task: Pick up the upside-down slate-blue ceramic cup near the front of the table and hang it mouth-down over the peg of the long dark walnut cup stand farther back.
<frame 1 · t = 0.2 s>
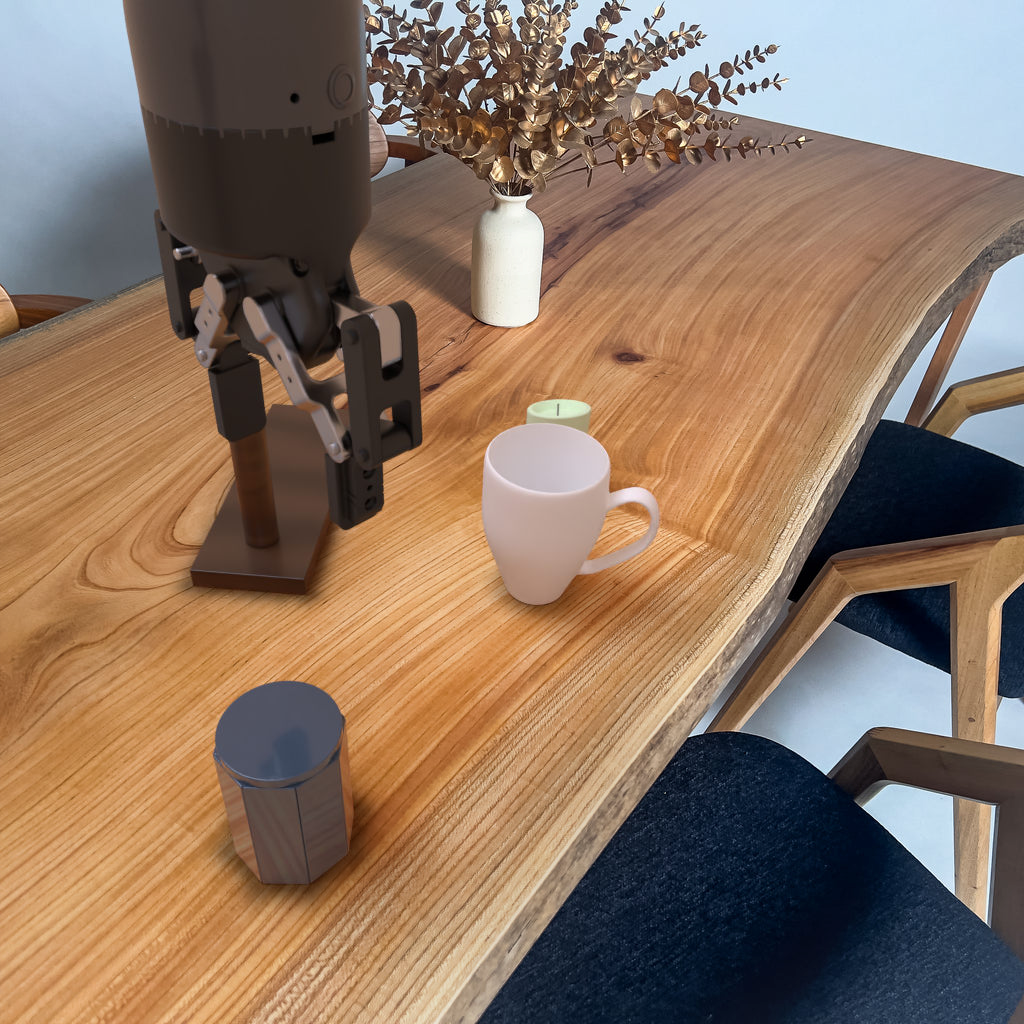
hand: (297, 474, 41), 20 cm above the table, tool pointing down, fingers open, 8 cm apart
candle: (550, 486, 76), on the table
mug: (559, 592, 66), on the table
cup stand: (288, 495, 72), on the table
cup: (296, 832, 49), on the table
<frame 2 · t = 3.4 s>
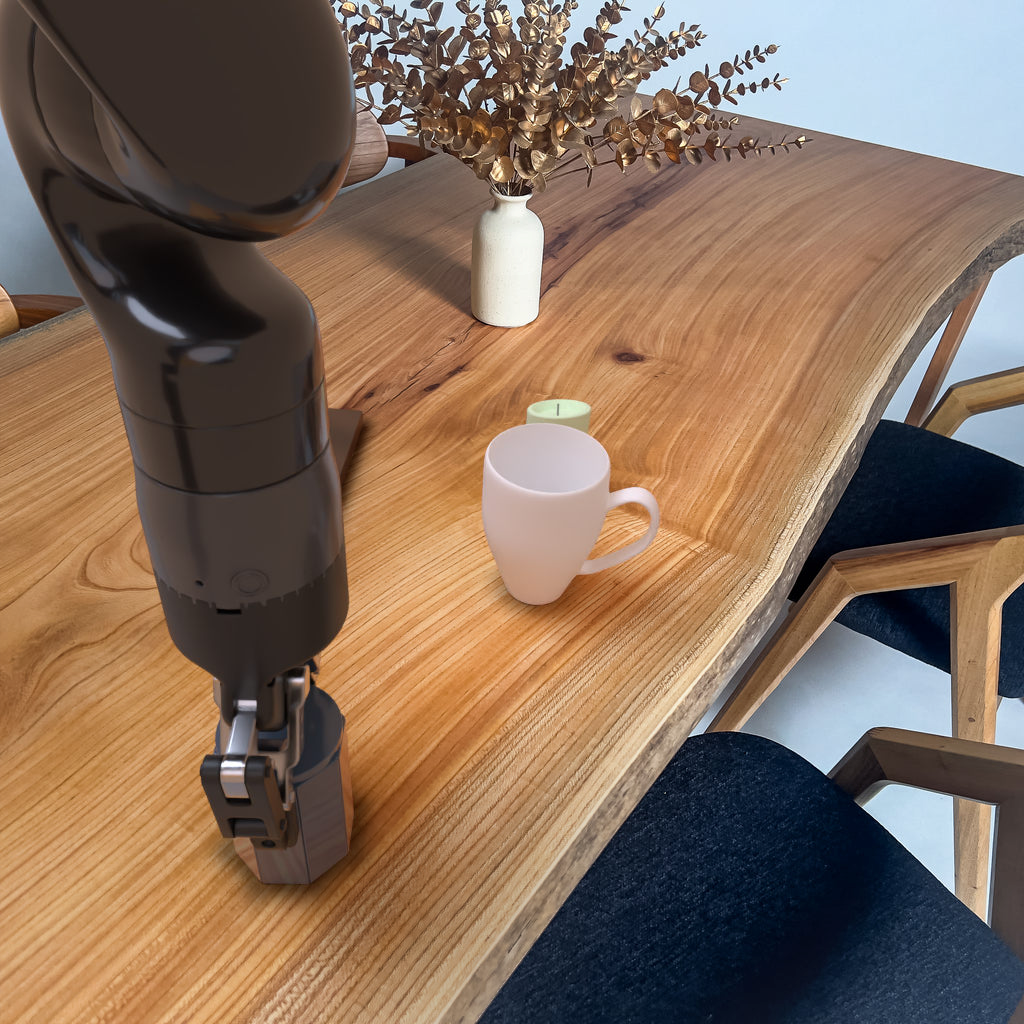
hand: (288, 781, 46), 5 cm above the table, tool pointing down, fingers closed on cup, 6 cm apart
cup: (296, 832, 49), on the table, touching gripper
everything else where it was.
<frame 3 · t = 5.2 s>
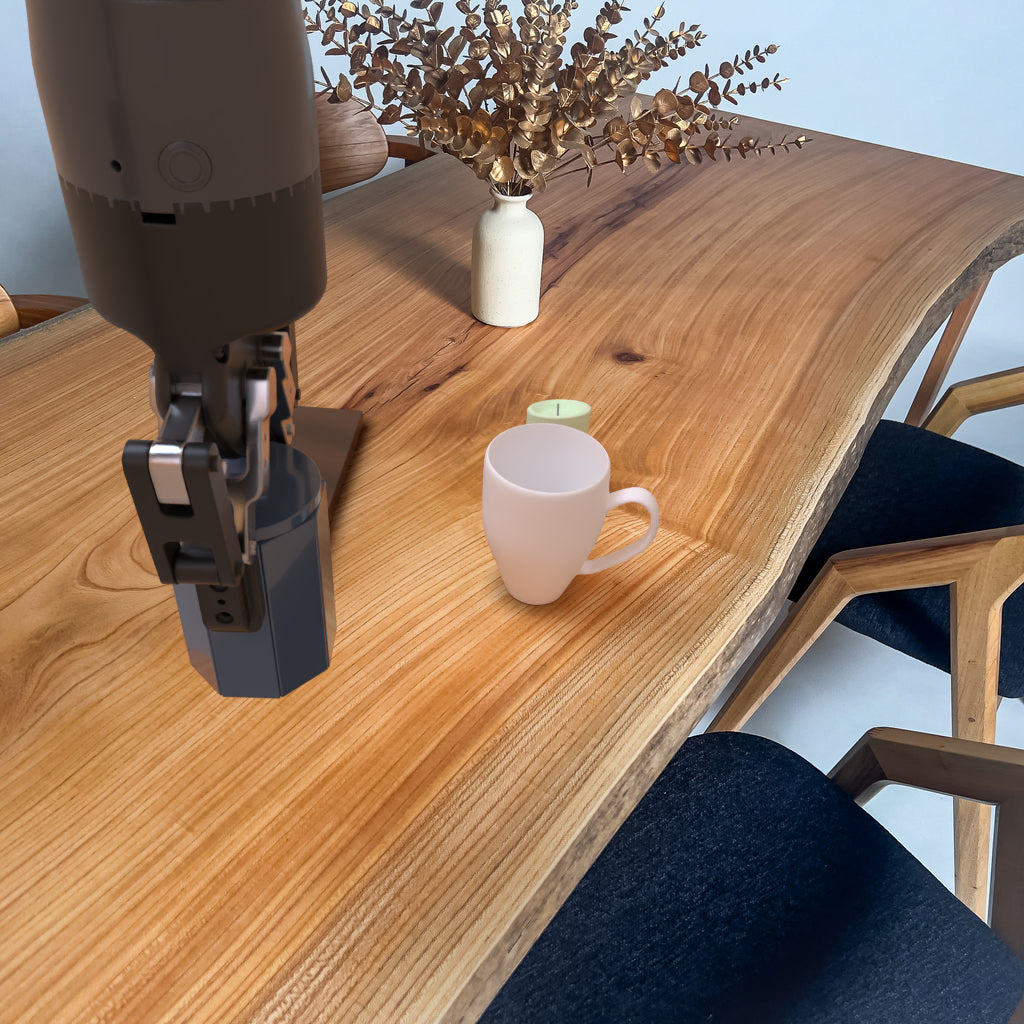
hand: (253, 567, 37), 19 cm above the table, tool pointing down, fingers closed on cup, 6 cm apart
cup: (265, 645, 40), point 15 cm above the table, touching gripper
everything else where it was.
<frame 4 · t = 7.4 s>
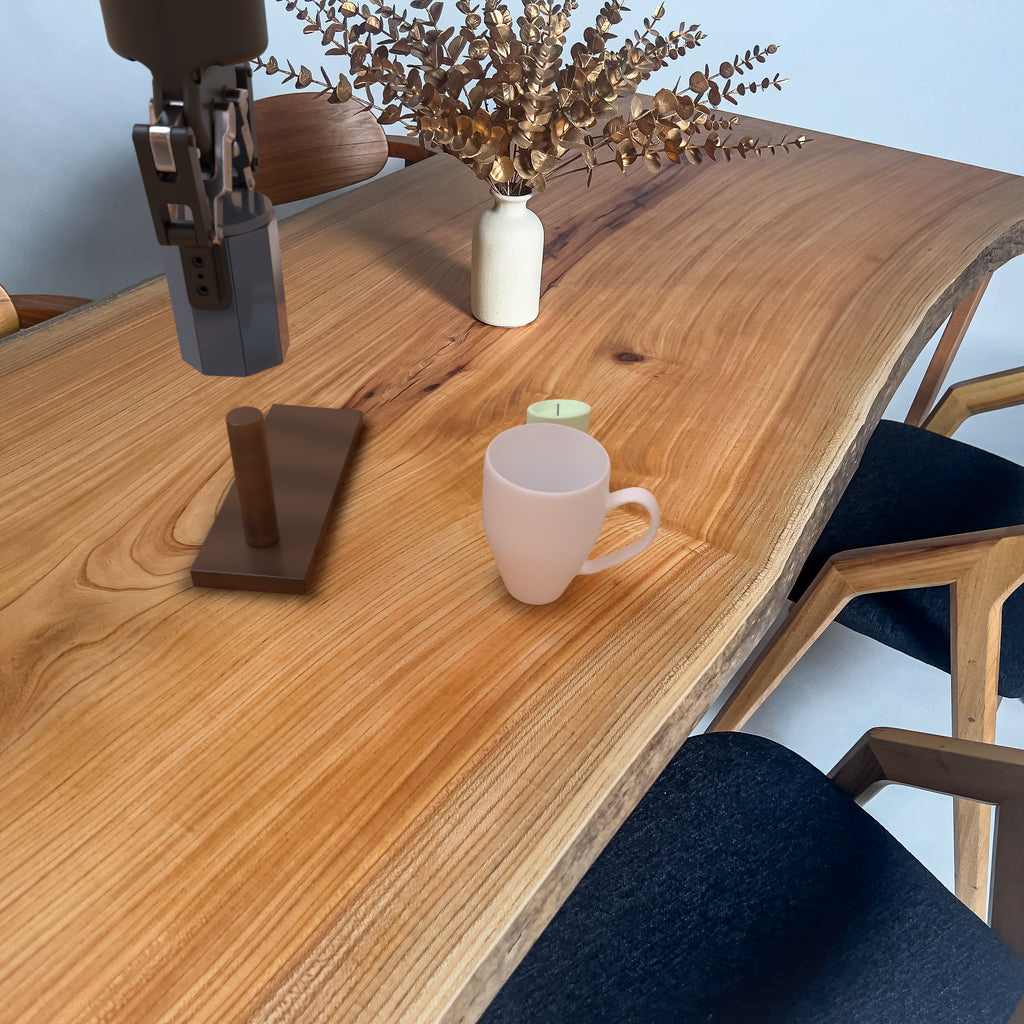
hand: (225, 280, 52), 22 cm above the table, tool pointing down, fingers closed on cup, 6 cm apart
cup: (237, 351, 55), point 17 cm above the table, touching gripper
everything else where it was.
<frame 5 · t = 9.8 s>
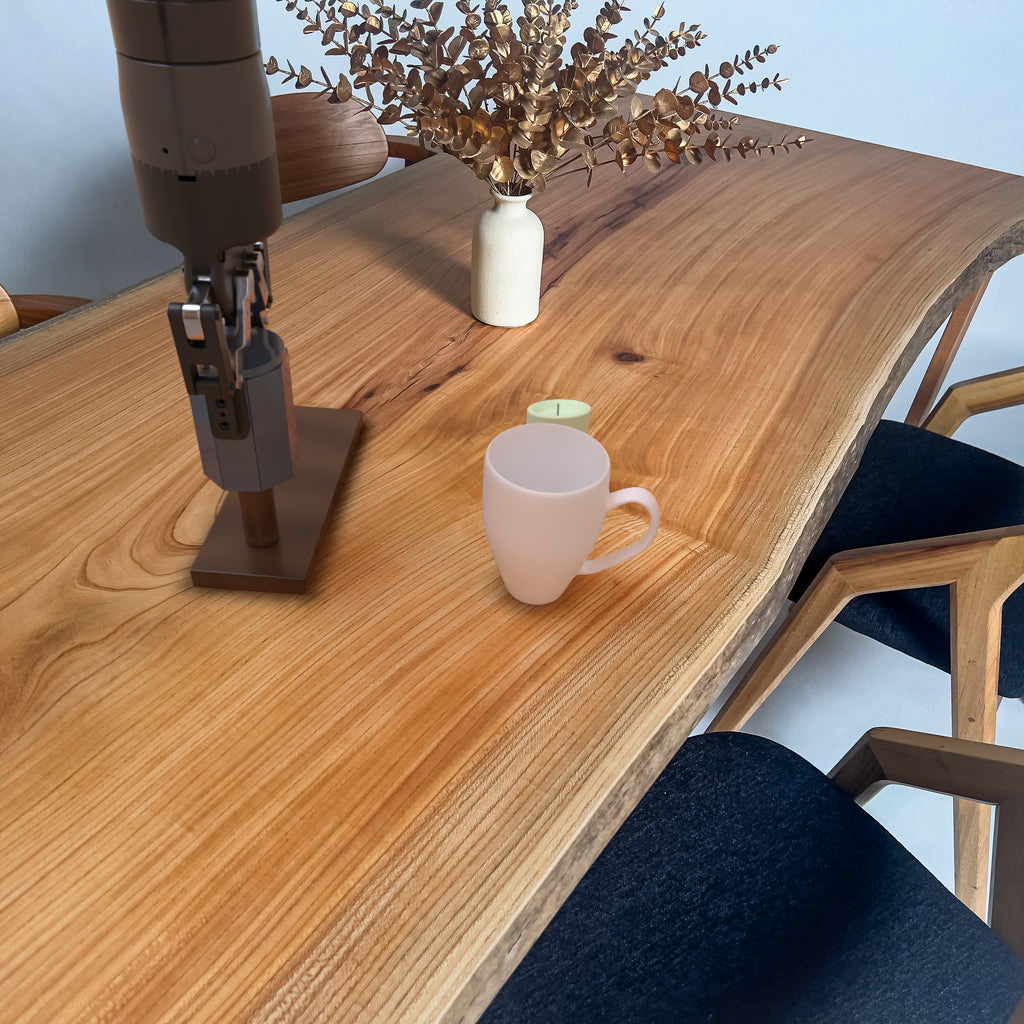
hand: (242, 407, 59), 13 cm above the table, tool pointing down, fingers closed on cup, 6 cm apart
cup: (252, 464, 62), point 8 cm above the table, touching gripper
everything else where it was.
when the fingers open (8 cm above the table, at t = 11.7 s): cup stays where it is, resting on cup stand.
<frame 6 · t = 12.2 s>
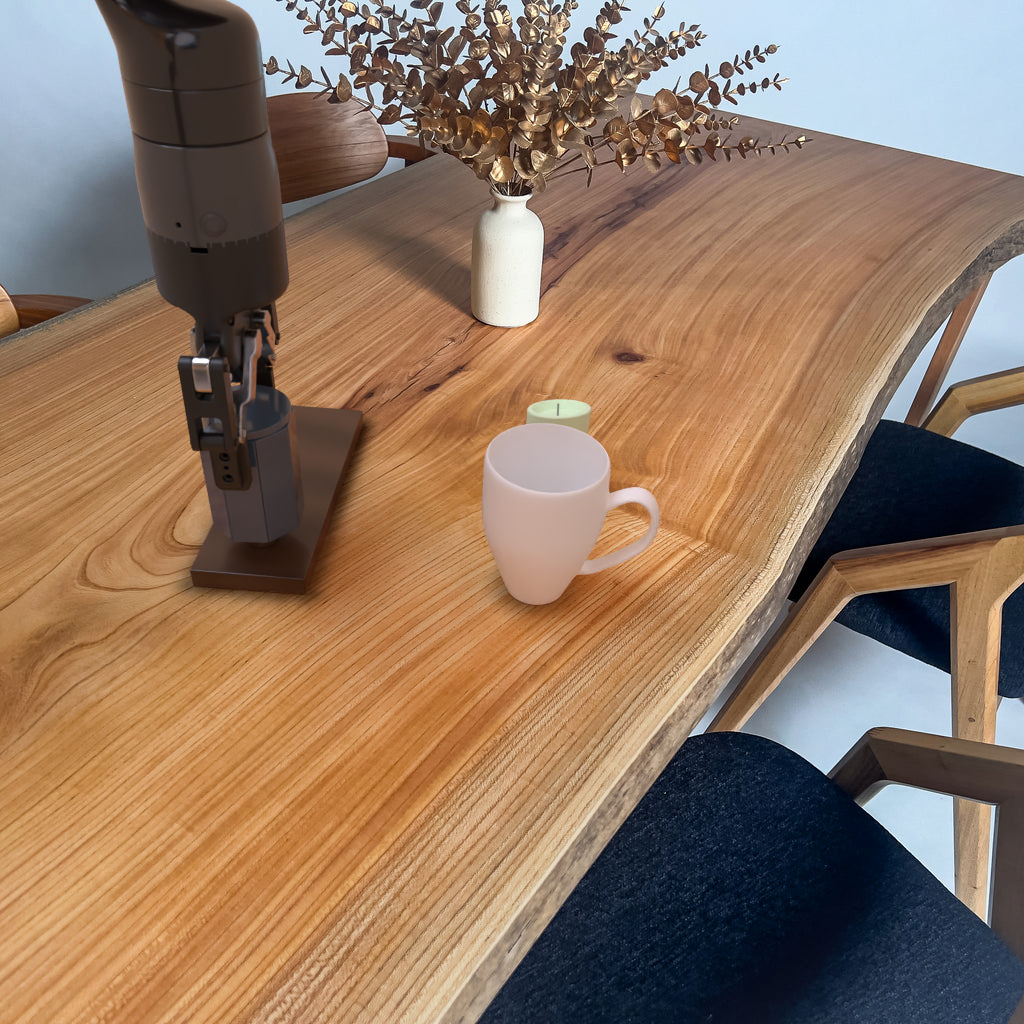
hand: (249, 449, 61), 9 cm above the table, tool pointing down, fingers open, 8 cm apart
cup: (259, 515, 65), point 4 cm above the table, touching cup stand
everything else where it was.
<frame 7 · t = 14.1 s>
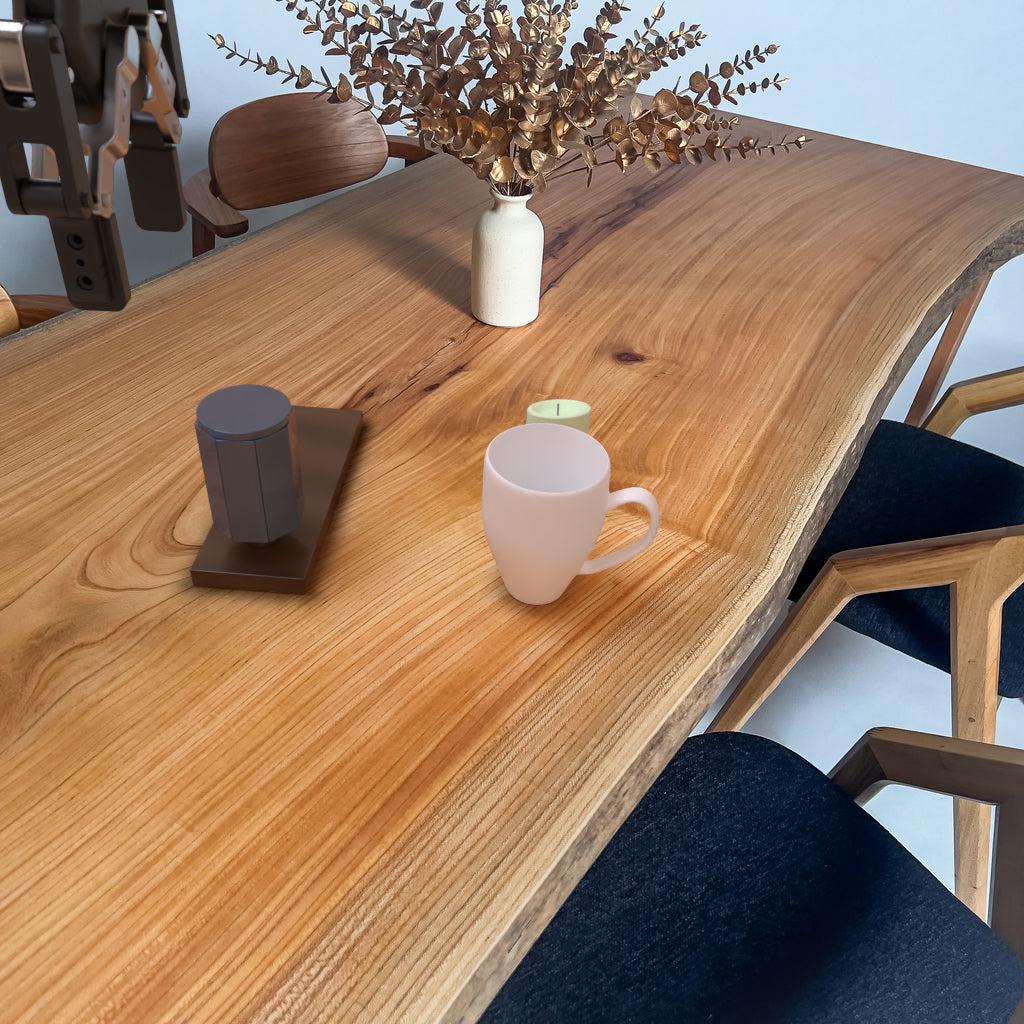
hand: (135, 264, 39), 28 cm above the table, tool pointing down, fingers open, 8 cm apart
nothing on the table moved.
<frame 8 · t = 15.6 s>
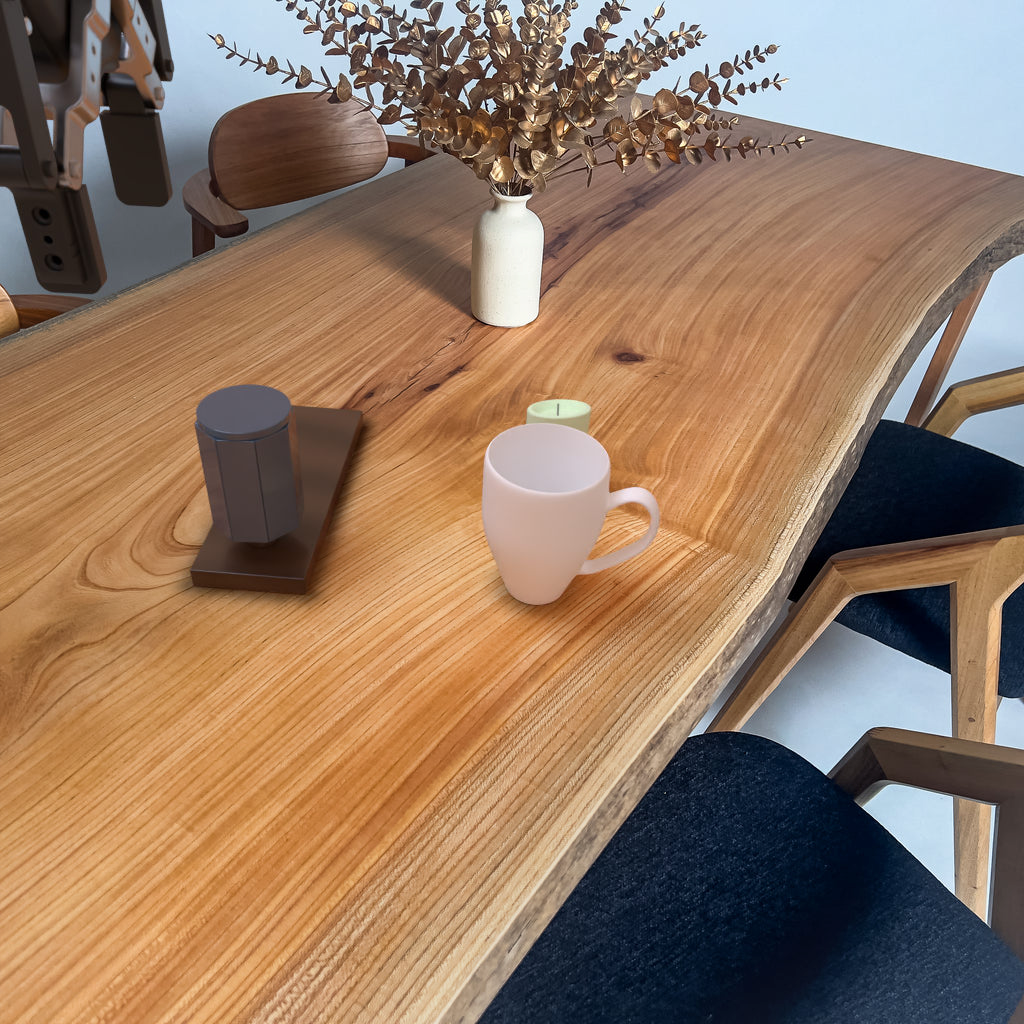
hand: (114, 242, 36), 30 cm above the table, tool pointing down, fingers open, 8 cm apart
nothing on the table moved.
at the end: cup 0.1 cm from the target spot on the cup stand, point 3.6 cm above the cup stand's base; cup tilted 0°; the gripper is holding nothing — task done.
